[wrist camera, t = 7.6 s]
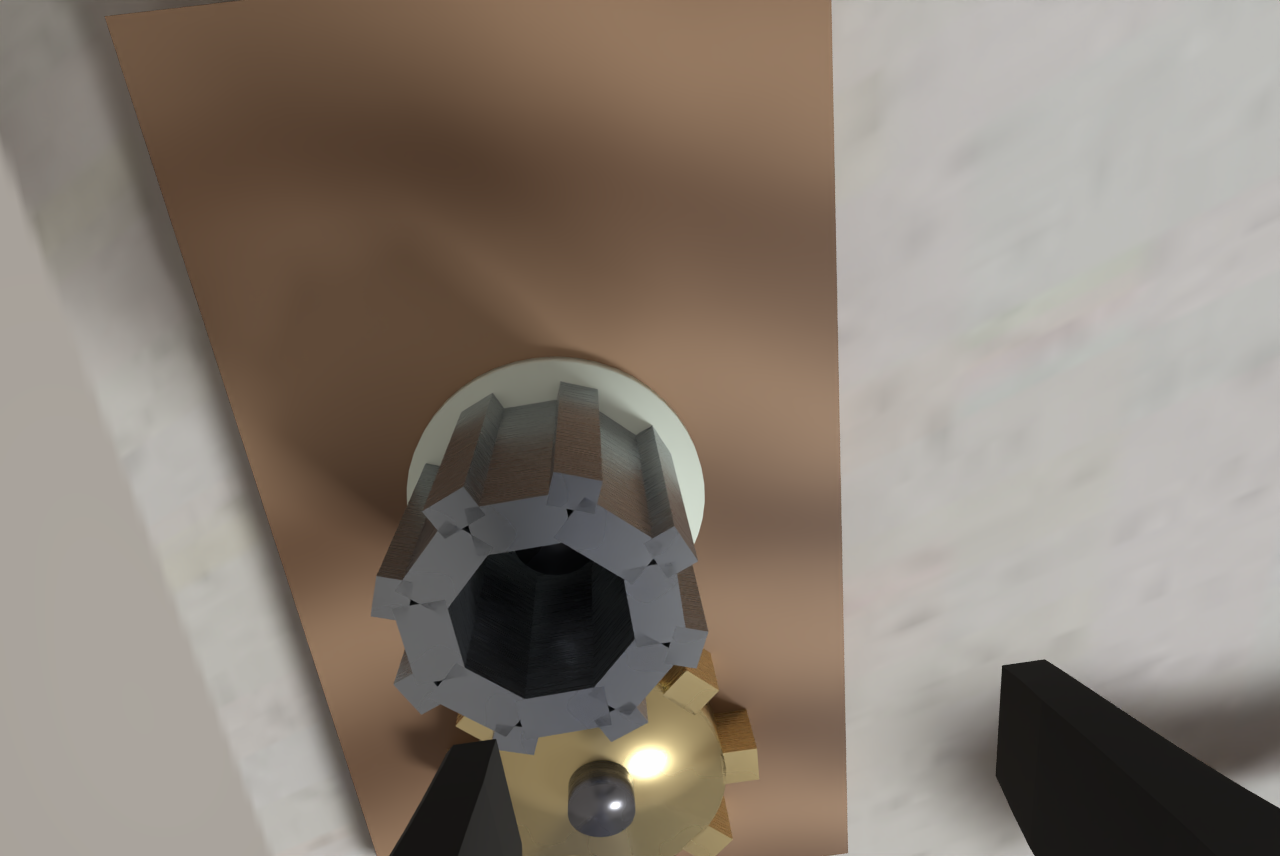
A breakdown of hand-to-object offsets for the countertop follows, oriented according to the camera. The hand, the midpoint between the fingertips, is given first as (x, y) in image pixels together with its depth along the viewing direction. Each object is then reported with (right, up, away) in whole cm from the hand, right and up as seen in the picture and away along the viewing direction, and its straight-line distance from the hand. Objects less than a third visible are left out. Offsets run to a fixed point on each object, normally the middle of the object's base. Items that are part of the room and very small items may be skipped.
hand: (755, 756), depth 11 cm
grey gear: (-4, +3, +7) cm, 8 cm away
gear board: (-3, +3, +9) cm, 10 cm away
